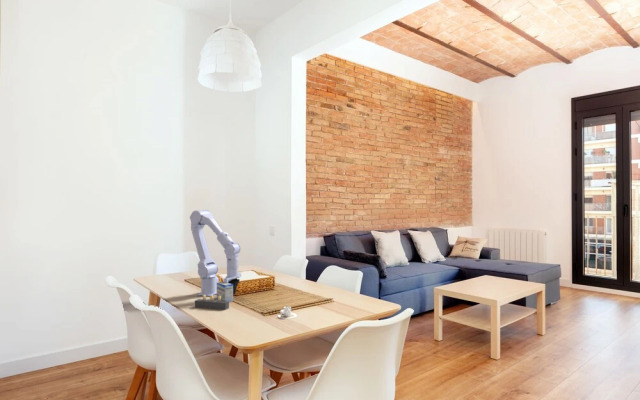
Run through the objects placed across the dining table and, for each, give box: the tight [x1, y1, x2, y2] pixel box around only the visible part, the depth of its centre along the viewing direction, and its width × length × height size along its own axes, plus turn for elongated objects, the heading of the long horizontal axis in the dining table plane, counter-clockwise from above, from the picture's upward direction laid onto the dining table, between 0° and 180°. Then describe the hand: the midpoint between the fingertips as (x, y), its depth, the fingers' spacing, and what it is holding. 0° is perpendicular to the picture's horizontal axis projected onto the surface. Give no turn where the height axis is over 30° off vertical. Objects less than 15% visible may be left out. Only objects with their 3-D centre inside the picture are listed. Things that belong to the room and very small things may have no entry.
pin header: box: [194, 295, 230, 311], centre depth 177 cm, size 3×16×6 cm, turn 73°
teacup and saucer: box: [277, 305, 297, 320], centre depth 164 cm, size 9×8×4 cm
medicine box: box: [216, 281, 234, 303], centre depth 188 cm, size 8×4×9 cm, turn 47°
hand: (232, 293), depth 195 cm, fingers closed
